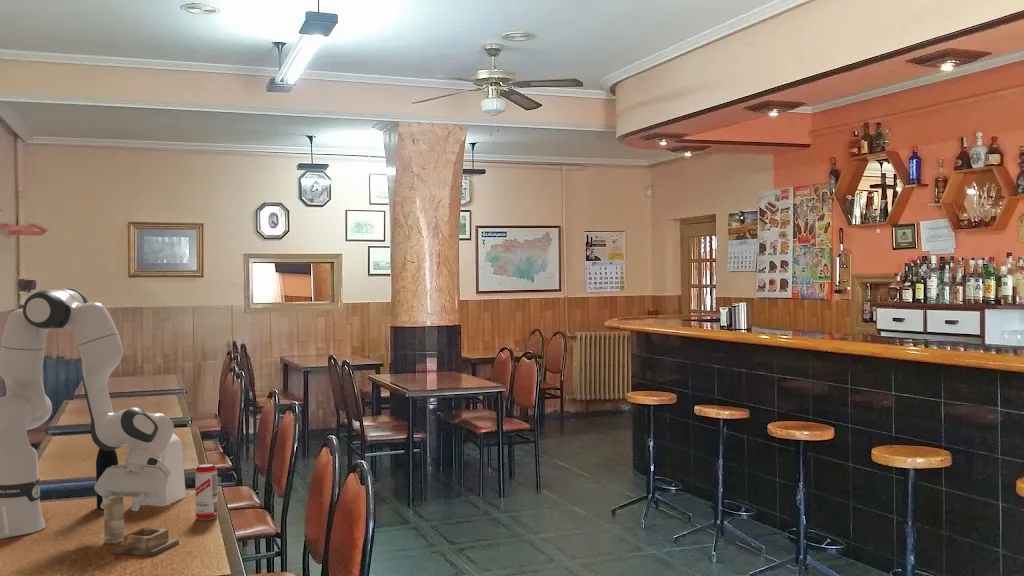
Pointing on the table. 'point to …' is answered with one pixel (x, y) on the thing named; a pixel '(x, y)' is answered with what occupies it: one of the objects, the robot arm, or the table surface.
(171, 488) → the milk
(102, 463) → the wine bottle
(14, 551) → the table surface
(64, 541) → the table surface
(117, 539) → the beige rectangular block
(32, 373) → the robot arm
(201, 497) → the beer can
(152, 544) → the wooden socket base
